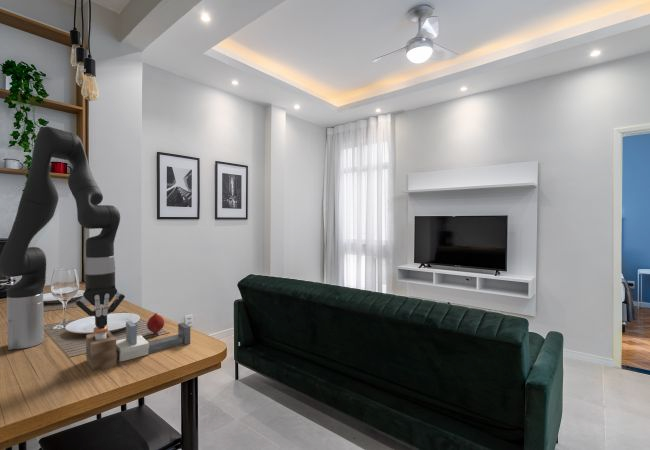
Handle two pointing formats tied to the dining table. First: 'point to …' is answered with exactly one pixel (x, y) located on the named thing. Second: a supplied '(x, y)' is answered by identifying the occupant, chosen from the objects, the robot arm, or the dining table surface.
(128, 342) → the carriage
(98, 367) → the wooden block holder
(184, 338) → the rail
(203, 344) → the dining table surface
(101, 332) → the white orange cylinder
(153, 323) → the onion
